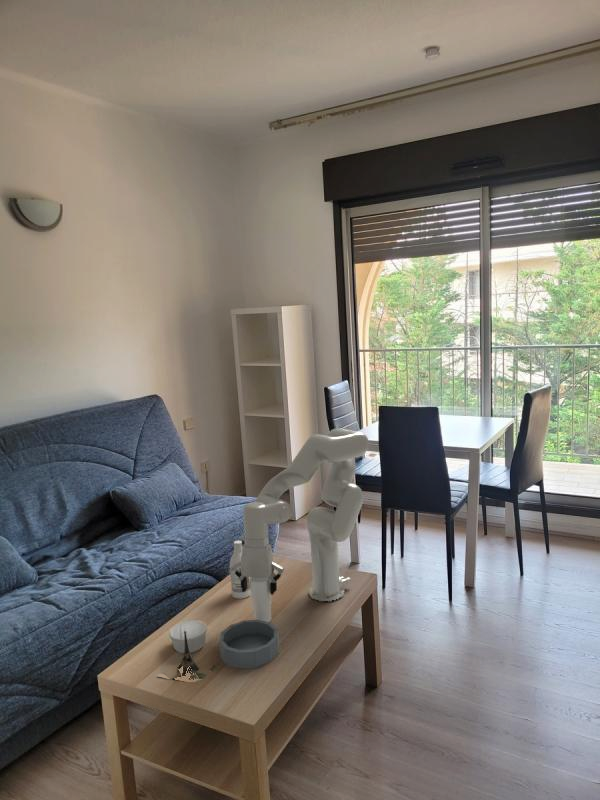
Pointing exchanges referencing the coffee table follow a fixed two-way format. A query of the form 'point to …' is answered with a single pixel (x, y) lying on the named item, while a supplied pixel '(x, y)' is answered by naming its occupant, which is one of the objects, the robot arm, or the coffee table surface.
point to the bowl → (249, 644)
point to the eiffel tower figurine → (191, 664)
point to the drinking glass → (261, 598)
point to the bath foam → (234, 578)
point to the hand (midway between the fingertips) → (258, 591)
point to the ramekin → (188, 635)
